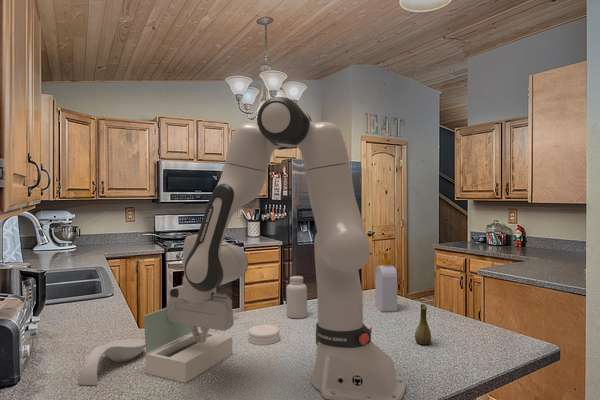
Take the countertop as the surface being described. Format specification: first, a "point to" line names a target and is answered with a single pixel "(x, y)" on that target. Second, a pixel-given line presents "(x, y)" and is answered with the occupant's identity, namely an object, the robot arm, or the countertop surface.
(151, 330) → the cover
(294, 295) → the pill bottle
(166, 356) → the black rounded rod
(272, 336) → the beige short cylinder
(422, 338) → the olive green bottle shape
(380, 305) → the soap bottle
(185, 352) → the beige rectangular box
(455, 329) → the countertop surface
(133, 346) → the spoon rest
